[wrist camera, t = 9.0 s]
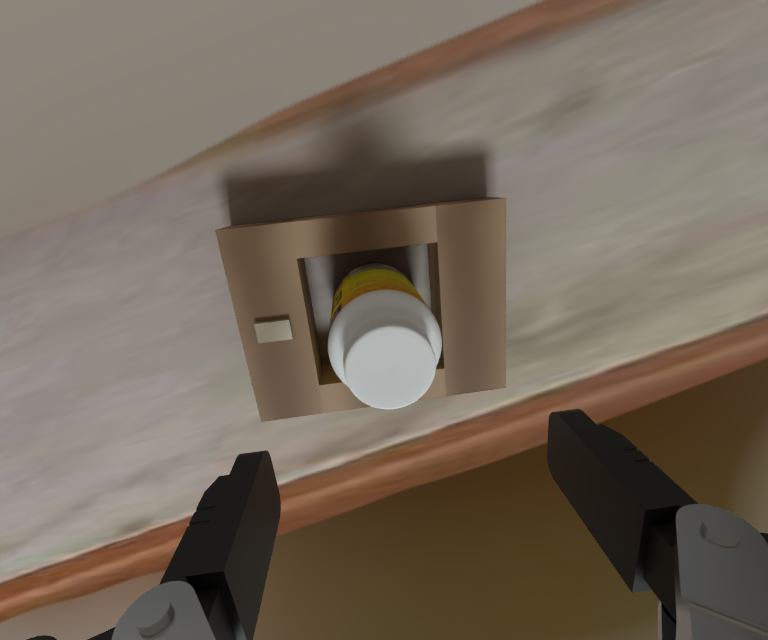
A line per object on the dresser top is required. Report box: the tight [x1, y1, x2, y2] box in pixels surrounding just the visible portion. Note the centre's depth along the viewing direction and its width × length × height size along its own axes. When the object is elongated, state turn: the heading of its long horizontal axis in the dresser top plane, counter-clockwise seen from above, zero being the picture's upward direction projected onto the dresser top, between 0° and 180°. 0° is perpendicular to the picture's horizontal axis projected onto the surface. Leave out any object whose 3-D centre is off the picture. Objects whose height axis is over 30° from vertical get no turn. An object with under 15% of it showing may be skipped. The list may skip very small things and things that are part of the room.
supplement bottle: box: [328, 263, 442, 409], centre depth 21 cm, size 6×6×10 cm
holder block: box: [215, 197, 506, 422], centre depth 24 cm, size 16×12×3 cm
